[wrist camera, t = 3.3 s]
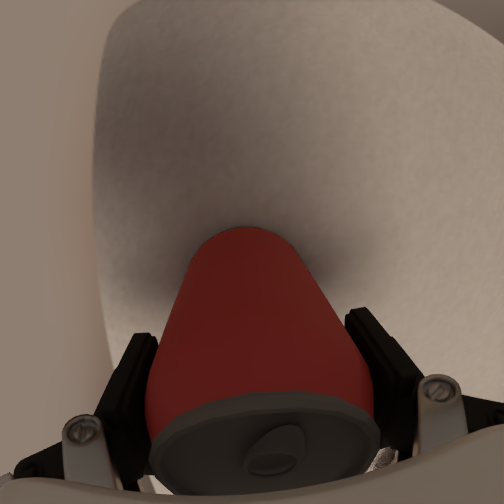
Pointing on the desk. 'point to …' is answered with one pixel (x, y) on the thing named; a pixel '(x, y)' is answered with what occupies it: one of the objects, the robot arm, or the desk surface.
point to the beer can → (256, 377)
